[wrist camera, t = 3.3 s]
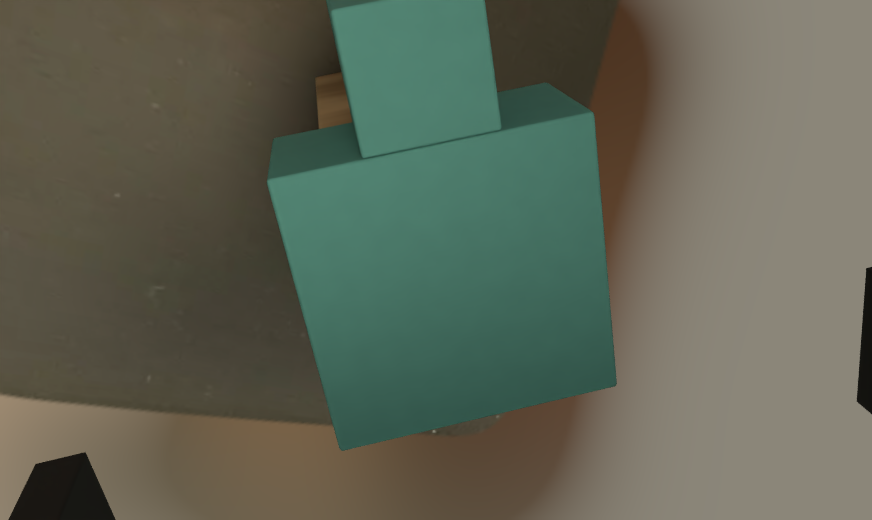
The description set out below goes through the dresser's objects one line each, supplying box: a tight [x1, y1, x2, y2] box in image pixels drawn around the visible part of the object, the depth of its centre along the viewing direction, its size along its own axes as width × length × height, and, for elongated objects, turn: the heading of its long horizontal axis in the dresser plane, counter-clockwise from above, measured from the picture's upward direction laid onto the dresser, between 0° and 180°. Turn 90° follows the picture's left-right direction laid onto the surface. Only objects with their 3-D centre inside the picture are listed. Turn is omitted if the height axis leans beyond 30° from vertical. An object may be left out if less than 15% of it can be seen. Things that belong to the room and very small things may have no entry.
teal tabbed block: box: [267, 0, 617, 451], centre depth 18 cm, size 7×10×4 cm
